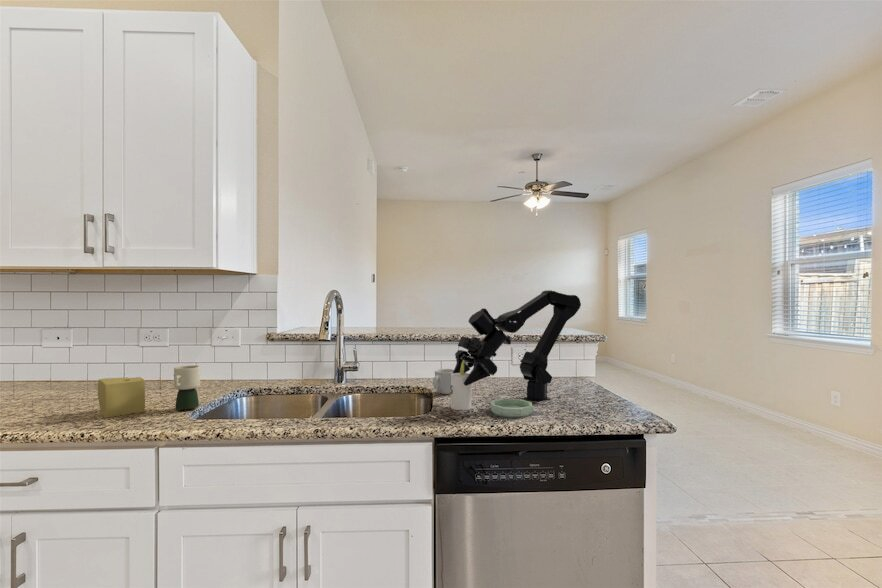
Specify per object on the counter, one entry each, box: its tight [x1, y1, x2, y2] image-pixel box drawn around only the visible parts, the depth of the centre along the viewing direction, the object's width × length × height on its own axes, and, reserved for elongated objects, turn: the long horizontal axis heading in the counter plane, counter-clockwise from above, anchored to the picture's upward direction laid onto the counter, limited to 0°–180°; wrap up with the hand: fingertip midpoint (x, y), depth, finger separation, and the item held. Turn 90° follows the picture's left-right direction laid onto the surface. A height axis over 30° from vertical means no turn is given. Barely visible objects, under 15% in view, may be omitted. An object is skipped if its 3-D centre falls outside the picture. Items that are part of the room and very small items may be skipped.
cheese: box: [97, 376, 146, 419], centre depth 133 cm, size 10×11×10 cm
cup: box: [432, 368, 454, 395], centre depth 158 cm, size 11×8×8 cm
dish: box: [490, 398, 534, 418], centre depth 132 cm, size 12×12×2 cm
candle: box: [449, 360, 472, 411], centre depth 137 cm, size 6×6×15 cm
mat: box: [480, 408, 544, 422], centre depth 132 cm, size 13×13×1 cm
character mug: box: [173, 364, 201, 411], centre depth 136 cm, size 11×7×13 cm, turn 176°
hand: (457, 382), depth 137 cm, fingers open, 9 cm apart
